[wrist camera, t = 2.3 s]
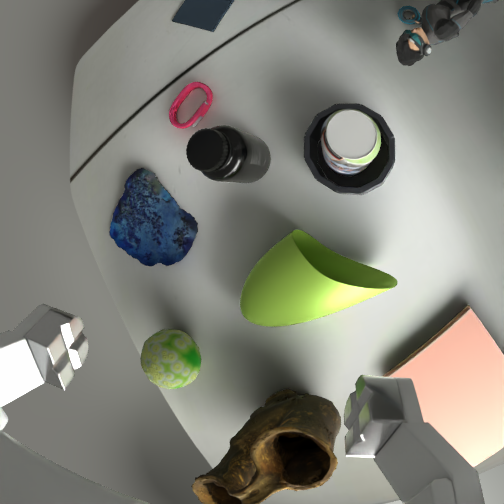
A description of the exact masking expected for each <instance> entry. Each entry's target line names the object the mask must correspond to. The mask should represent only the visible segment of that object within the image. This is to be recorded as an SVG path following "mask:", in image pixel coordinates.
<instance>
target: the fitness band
mask: <svg viewBox="0 0 504 504" xmlns="http://www.w3.org/2000/svg"><path fill="white" fill-rule="evenodd" d="M195 88H202V89H203V90H204V91H205V92H206V94H207V100H206V102H205V101H204V102H203V103H202V105H201V106H200V108H199V109H198V110H197V112H196V113H195V114H194V115H193V117H192V118H191V119H190V120H189V121H187V122H186V123H183V124H180V123H178V122H177V120H176V112H177V109H178V107H179V106H180V104H181V103H182V101H183V100H184V99H185V98H186V96H187V95H188V94H189V93H190V92H191V91H192V90H193V89H195ZM212 99H213V95H212V91H211V90H210V88H209V87H208V86H206V85H205V84H203V83H200V82H193V83H190V84H188V85H187V86H186V87H185V88H184V89H183V90H182V91H181V92H180V94H179V95H178V96H177V98H176V99H175V100H174V102H173V103H172V105H171V108H170V111H169V119H170V122H171V123H172V125H173V126H175V127H177V128H187V127H189V126H191V125H192V126H194V127H195V126H196V125H197V123H198V122H199V121H200V120H201V119H202V117H203V116H204V115H205V114H206V112H207V111H208V109H209V108H210V106H211V103H212Z"/></svg>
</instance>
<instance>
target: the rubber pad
mask: <svg viewBox="0 0 504 504" xmlns="http://www.w3.org/2000/svg"><path fill="white" fill-rule="evenodd" d="M233 2H234V0H185V1H184V3H183V4H182V6H181V7H180V9H179V10H178V12H177V13H176V15H175V16H174V18H173V20H172V21H173V22H177V23H181V24H185V25H189V26H193V27H197V28H201V29H205V30H208V31H212V32H214V30H215V29H216V27H217V26H218V24H219V22H220V21H221V19H222V18H223V16H224V15H225V13H226V12H227V10H228V9H229V7H230V6H231V4H232V3H233Z"/></svg>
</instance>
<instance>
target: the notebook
mask: <svg viewBox="0 0 504 504" xmlns="http://www.w3.org/2000/svg"><path fill="white" fill-rule="evenodd" d="M383 377H393V378H394V377H400V378H411V379H412V381H413V384H414V387H415V390H416V394H417V398H418V401H419V405H420V408H421V412H422V416H423V420H424V422H429V423H430V424H431V425H432V426H433V427H434V428H435V429H436V430H437V431H438V432H439V433H440V434H441V435H442V436H443V437H444V438H445V439H446V440H447V441H448V442H449V443H450V444H451V445H452V446H453V447H454V448H455V449H456V451H457V452H458V453H459V454H460V455H461V456H462V457H463V458H464V459H465V460H466V461H467V462H468V463H469V464H470V465H471V466H472V467H474V466H476V465H477V464H479V463H480V462H482V461H484V460H485V459H487V458H488V457H490V456H491V455H493V454H494V453H496V452H497V451H498V450H500V449H501V448H503V447H504V355H503V353H502V352H501V350H500V349H499V347H498V346H497V344H496V343H495V341H494V340H493V338H492V337H491V335H490V334H489V332H488V331H487V330H486V328H485V327H484V325H483V324H482V323H481V321H480V320H479V318H478V317H477V316H476V314H475V313H474V312H473V310H472V309H471V308H470V306H469V305H467V306H466V307H465V308H464V309H463V310H462V311H461V312H460V313H459V314H458V315H457V316H456V317H455V318H453V319H452V320H451V321H450V322H449V323H448V324H447V325H446V326H444V327H443V328H442V329H441V330H440V331H439V332H438V333H436V334H435V335H434V336H433V337H432V338H431V339H429V340H428V341H427V342H426V343H425V344H423V345H422V346H421V347H420V348H418V349H417V350H416V351H415V352H413V353H412V354H411V355H410V356H408V357H407V358H406V359H404V360H403V361H402V362H401V363H399V364H398V365H397V366H395V367H394V368H393V369H391V370H390V371H389V372H387V373H386V374H384V375H383Z"/></svg>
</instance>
